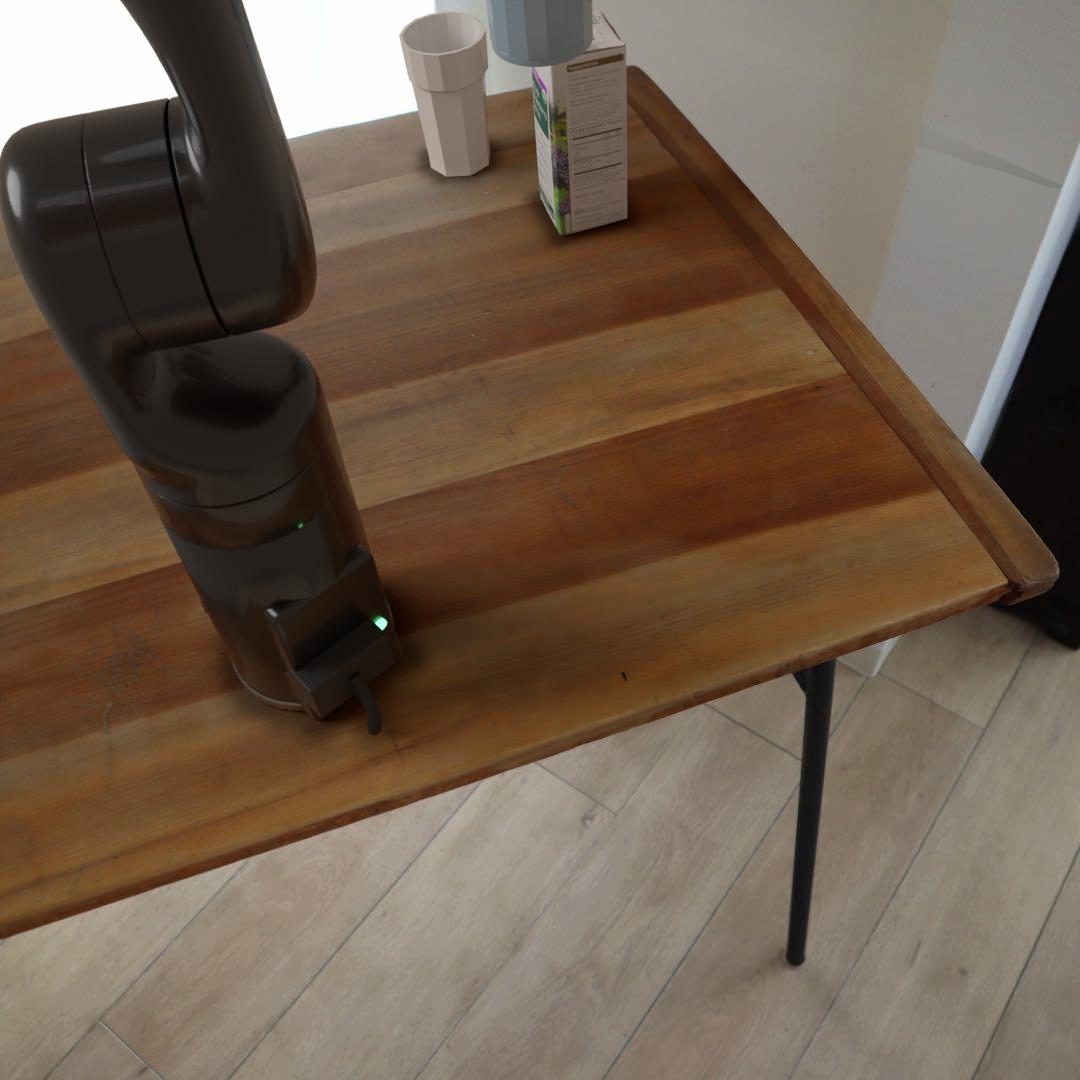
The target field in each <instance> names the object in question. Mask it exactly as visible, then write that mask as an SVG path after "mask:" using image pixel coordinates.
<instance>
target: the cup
mask: <svg viewBox="0 0 1080 1080" xmlns="http://www.w3.org/2000/svg"><path fill="white" fill-rule="evenodd" d="M398 37H399V41H400V46H401V51H402V55H403V59H404V64H405V69H406V74H407V76H408V81H410V83H411V86H412V89H413V94H414V98H415V103H416V107H417V111H418V115H419V116H418V117H419V120H420V124H421V127H422V128H421V129H422V133H423V137H424V141H425V145H426V150H427V155H428V160H429V165H430V168H431V169H433V170H434V171H436V172H438V173H439V174H441V175H442V176H444V177H445V178H449V177H450V178H451V177H468V176H469V177H470V176H472V175H474V174H476V173H478V172H479V171H481V170H483V169H484V168H486V167H488V166H490V158H491V157H490V156H491V146H490V145H491V144H490V133H489V118H488V104H487V102H488V101H487V88H486V87H487V86H486V72H487V70H488V69H489V57H488V56H489V55H488V41H487V40H488V39H487V29H486V27H485V24H484V22H483V21H482V20H481V19H480V18H479V17H478V16H476V15H474V14H471V13H467V12H462V11H447V10H445V11H440V12H435V13H429V14H426V15H423V16H420V17H418V18H414V19H413V20H412V21H410V22H409V23H408V24H407V25H405V26H404V27H403V29H402V30H401V31H400V33H399V34H398Z"/></svg>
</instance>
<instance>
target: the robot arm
mask: <svg viewBox="0 0 1080 1080" xmlns="http://www.w3.org/2000/svg"><path fill="white" fill-rule="evenodd" d="M119 1H120V2H121V4H122V5H123V6H124V8H125V9H126V10H127V12H128V13H129V15H130V16H131V18H132V20H133V21H134V22H135V24H136V25H137V26H138V28H139V30H140V31H141V33H142V34H143V36H144V37H145V39H146V40H147V41H146V42H148V44H149V45H150V47H151V48H152V51H153V52H154V54H155V55H156V57H157V59H158V61H159V63H160V64H161V66H162V68H163V70H164V71H165V73H166V75H167V77H168V79H169V80H170V82H171V85H172V86H173V89H174V91H175V93H176V95H175V96H172V97H170V98H168V97H164V98H160V99H159V98H158V99H154V100H148V101H143V102H137V103H133V104H132V103H131V104H125V105H123V106H115V107H111V108H104V109H99V110H93V111H90V112H84V113H83V112H82V113H77V114H72V115H67V116H62V117H57V118H52V119H47V120H44V121H38V122H35V123H32V124H29V125H26V126H23V127H21V128H20V129H18V130H16V131H15V132H14V133H12V134H10V135H11V136H9V138H8V139H7V141H6V142H5V143H4V145H3V147H2V150H1V152H0V216H1V220H2V223H3V226H4V230H5V233H6V237H7V241H8V243H9V246H10V247H9V248H10V249H11V252H12V254H13V257H14V259H15V261H16V264H17V266H18V269H19V271H20V273H21V275H22V278H23V280H24V282H25V284H26V286H27V289H28V291H29V292H30V294H31V296H32V299H33V301H34V302H35V304H36V306H37V308H38V309H39V311H40V313H41V315H42V317H43V319H44V320H45V322H46V324H47V326H48V328H49V329H50V331H51V333H52V334H53V336H54V337H55V339H56V341H57V342H58V344H59V346H60V348H61V349H62V351H63V352H64V354H65V356H66V357H67V359H68V361H69V362H70V363H71V366H72V367H73V368H74V370H75V372H76V374H77V375H78V377H79V378H80V380H81V382H82V383H83V385H84V387H85V388H86V390H87V392H88V394H89V395H90V397H91V399H92V401H93V402H94V404H95V406H96V407H97V409H98V411H99V413H100V414H101V416H102V418H103V420H104V422H105V424H106V425H107V428H108V429H109V431H110V433H111V435H112V437H113V439H114V440H115V442H116V444H117V445H118V447H119V449H120V450H121V452H122V453H123V454H124V455H125V456H126V458H128V460H129V461H130V462H131V463H132V465H133V467H134V469H135V471H136V473H137V475H138V477H139V479H140V481H141V483H142V485H143V487H144V489H145V491H146V493H147V495H148V497H149V500H150V501H151V503H152V504H153V507H154V509H155V511H156V513H157V515H158V517H159V519H160V521H161V524H162V526H163V527H164V529H165V531H166V534H167V535H168V537H169V539H170V542H171V544H172V546H173V547H174V549H175V551H176V553H177V555H178V557H179V559H180V561H181V563H182V565H183V567H184V570H185V571H186V573H187V576H188V577H189V578H190V581H191V583H192V586H193V587H194V589H195V592H196V593H197V595H198V597H199V599H200V604H201V607H202V608H203V610H204V612H205V614H206V615H208V617H209V619H210V621H211V623H212V625H213V627H214V629H215V631H216V633H217V635H218V637H219V638H220V640H221V642H222V644H223V646H224V648H225V650H226V651H227V654H228V655H229V657H230V661H231V665H232V667H233V670H234V672H235V674H236V676H237V678H238V679H239V682H240V683H241V685H242V686H243V687H244V689H245V690H246V691H247V692H248V693H249V694H250V695H251V696H253V697H254V698H255V699H257V700H259V701H260V702H262V703H264V704H266V705H268V706H271V707H274V708H277V709H281V710H287V711H298V712H300V711H301V712H304V713H306V714H308V716H309V717H310V718H312V720H314V721H316V722H319V721H321V720H322V719H324V718H325V717H327V716H328V715H330V713H332V712H333V711H334V710H336V709H337V708H338V707H340V706H341V705H343V704H344V703H345V702H346V701H348V700H349V699H350V698H352V697H353V696H357V698H358V699H359V701H360V703H361V705H362V707H363V709H364V712H365V715H366V719H367V732H368V733H369V735H372V736H378V735H379V734H380V733H382V727H383V726H382V721H383V716H382V713H381V710H380V707H379V704H378V701H377V700H376V698H375V696H374V694H373V693H372V691H371V689H370V687H369V685H370V684H371V682H373V681H374V680H375V679H376V678H378V677H379V676H380V675H382V674H384V673H385V672H386V671H387V670H388V669H390V668H391V667H392V666H394V665H395V664H396V663H398V662H399V661H400V660H401V659H402V658H403V651H402V648H401V645H400V641H399V637H398V634H397V631H396V628H395V622H394V617H393V613H392V610H391V607H390V604H389V602H388V600H387V597H386V594H385V591H384V587H383V584H382V580H381V577H380V573H379V571H378V568H377V564H376V561H375V557H374V555H373V553H372V550H371V547H370V544H369V540H368V536H367V533H366V531H365V526H364V524H363V521H362V518H361V517H362V516H361V514H360V511H359V507H358V503H357V501H356V498H355V497H356V496H355V493H354V490H353V487H352V484H351V480H350V477H349V473H348V470H347V467H346V464H345V460H344V456H343V453H342V449H341V446H340V442H339V439H338V435H337V431H336V429H335V426H334V423H333V418H332V416H331V413H330V409H329V406H328V403H327V402H328V401H327V399H326V396H325V392H324V389H323V385H322V382H321V379H320V377H319V375H318V372H317V370H316V368H315V367H314V365H313V363H312V362H311V361H310V359H309V358H308V357H307V355H306V354H305V353H304V352H303V351H302V350H301V349H300V348H298V347H297V346H296V345H295V344H293V343H292V342H291V341H289V340H287V339H285V338H284V337H281V336H279V335H277V334H275V333H272V332H270V331H266V330H267V329H271V328H275V327H278V326H281V325H284V324H287V323H289V322H292V321H294V320H297V319H298V318H300V317H301V316H303V315H304V314H305V313H306V312H307V311H308V309H309V307H310V305H311V303H312V301H313V299H314V296H315V292H316V287H317V286H316V285H317V277H318V266H317V251H316V247H315V241H314V233H313V228H312V224H311V220H310V215H309V211H308V207H307V204H306V203H307V202H306V199H305V195H304V191H303V188H302V185H301V181H300V178H299V174H298V172H297V167H296V165H295V161H294V158H293V155H292V151H291V147H290V144H289V141H288V138H287V135H286V132H285V129H284V125H283V123H282V119H281V117H280V113H279V110H278V107H277V104H276V101H275V97H274V95H273V92H272V89H271V86H270V83H269V80H268V79H269V78H268V76H267V73H266V70H265V67H264V64H263V60H262V58H261V54H260V50H259V49H258V45H257V41H256V39H255V36H254V33H253V30H252V27H251V24H250V20H249V18H248V15H247V11H246V8H245V5H244V2H243V0H119Z"/></svg>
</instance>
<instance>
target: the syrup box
mask: <svg viewBox="0 0 1080 1080" xmlns="http://www.w3.org/2000/svg"><path fill="white" fill-rule="evenodd" d="M530 70H531V85H532V101H533V103H532V104H533V116H534V132H535V143H536V144H535V145H536V159H537V160H536V161H537V173H538V182H539V183H538V184H539V197H540V200H541V202H542V203H543V205H544V207H545V210H546V212H547V214H548V216H549V217H550V219H551V221H552V223H553V226H554V227H555V228H556V231H557V232H558V234H559V235H560V236H566V235H571V234H575V233H579V232H581V231H586V230H590V229H594V228H598V227H601V226H605V225H608V224H613V223H615V222H619V221H624V220H627V219H628V207H629V206H628V134H627V133H628V100H627V99H628V95H627V94H628V93H627V92H628V91H627V90H628V88H627V87H628V86H627V84H628V81H627V79H628V78H627V44H626V43H625V41H624V40H622V38H621V37H620V35H619V33H618V32H617V29H615V27H614V26H613V24H612V23H611V22H610V20H609V19H608V18H607V17H606V15H605V14H604V12H603V11H602V10H600V9H597V10H593V41H592V43H591V45H590V47H589V48H588V49H587V50H586V51H585V52H584V53H583V54H582V55H580V56H578V57H577V58H575V59H573V60H570V61H568V62H565V63H562V64H558V65H553V66H546V67H530Z"/></svg>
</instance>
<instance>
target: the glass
mask: <svg viewBox="0 0 1080 1080" xmlns="http://www.w3.org/2000/svg"><path fill="white" fill-rule="evenodd" d="M485 3H486V4H485V5H486V14H487V21H488V30H489V31H488V32H489V39H490V41H491V48H492V50H493V52H494V54H496V56H497V57H498V58H500V59H501V60H503V61H505V62H507V63H509V64H513V65H516V66H520V67H527V68H531V67H546V66H553V65H558V64H562V63H565V62H568V61H570V60H573V59H575V58H577V57H578V56H580V55H582V54H583V53H584V52H585V51H586V50H587V49H588V48H589V47H590V45H591V43H592V41H593V11H594V10H593V0H485Z"/></svg>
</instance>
